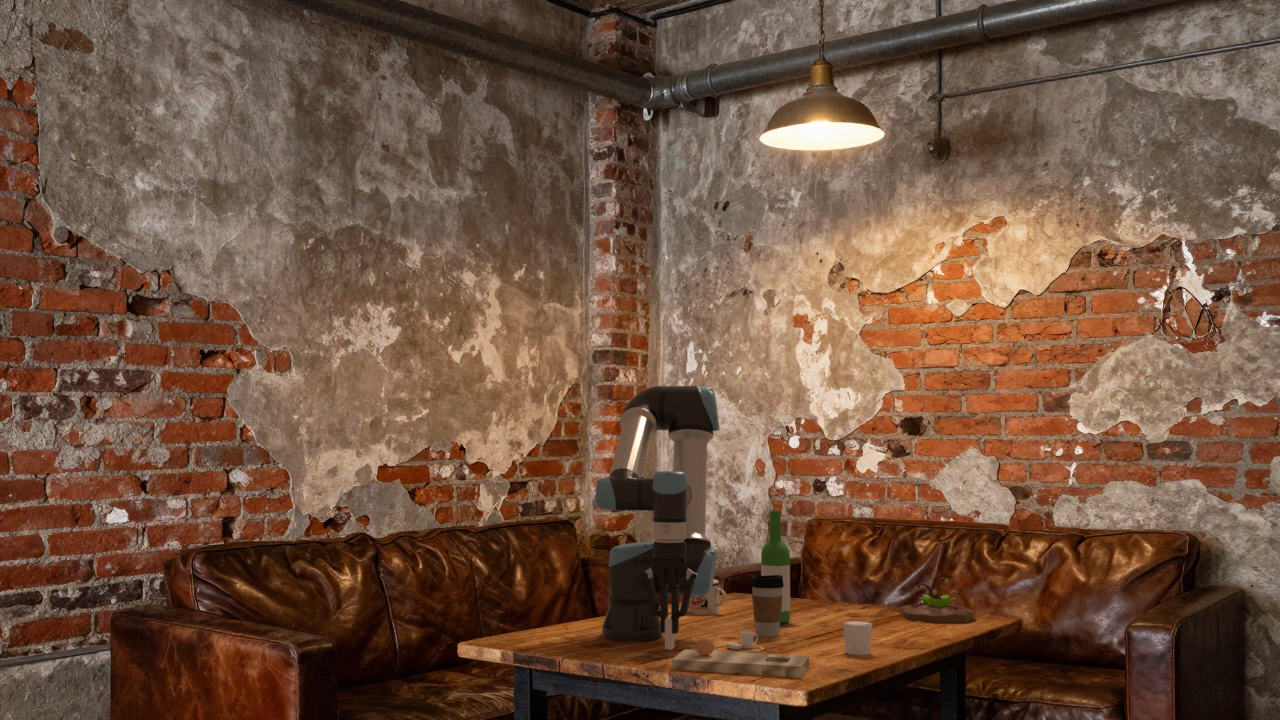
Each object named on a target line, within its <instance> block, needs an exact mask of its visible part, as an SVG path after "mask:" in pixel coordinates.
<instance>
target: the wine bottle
mask: <svg viewBox="0 0 1280 720" xmlns="http://www.w3.org/2000/svg"><path fill="white" fill-rule="evenodd" d="M781 513H782V512H781V510H775V509H774V510H770V511H769V540H768V541H767V542H766V543H765V544H764V546H763V547H762V549H761V558H760V560H761V566H760V576H769V575H782V576H783V583H784V585H783V586H784V587H782V606H781V617H780V624H786V623H789V622H790V619H791V565H790V564H791V563H790V562H791V561H790V558H791V557H790V556H791V555H790V550H789V547H788V545H786V544H787V543H784V541H783V540H782V527H781V526H782V521H781V520H782V515H781Z"/></svg>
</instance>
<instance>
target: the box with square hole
mask: <svg viewBox="0 0 1280 720" xmlns="http://www.w3.org/2000/svg"><path fill="white" fill-rule="evenodd" d="M809 667H810V656H809V655H800V654H799V655H798V654H797V655H795V654H781V653H780V654H778V653H776V654H775V653H763V652H762V653H761V652H759V653H758V652H745V651H744V652H740V651H725V650H724V651H723V650H722V651H721V650H720V651H719V650H713V652H712V653H711V654H710V655H708V656H703V655H700V654H699V653H698V652H697V650H696V649H687V648H685V649H683V650H682V651H681V652H679V653H678V654H677V655H676V656H675V657H673V658H672V659H671V670H674V669H681V670H680V671H689V670H693V671H694V672H704V671H705V672H706V673H718V672H721V674H722V673H723V674H733V673H741V674H740V675H743V674H742V673H746V674H745V675H748V673H749V674H761V675H760V676H763V675H770V676H769V677H778V676H781V677H782V678H793V677H794V678H795V679H803V677H804V676H803V675H805V674H806V672H807V670H808V669H809ZM693 671H692V672H693ZM705 672H704V673H705ZM781 677H780V678H781Z"/></svg>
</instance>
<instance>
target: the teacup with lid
mask: <svg viewBox="0 0 1280 720" xmlns="http://www.w3.org/2000/svg"><path fill="white" fill-rule="evenodd" d="M719 585H720V581H719V580H718V579H715V578H714V580H713V585H712V588H711V590H710V592H709V593H708V594H706V595H695V596H691V598H690V603H689V607H688V611H687V613H689V614H691V615H700V616H701V615H702V616H703V615H704V616H706V615H707V616H708V615H709V616H711V615H716V614H719V607H722V606H723V605H725V603H726V600H727V593H726V591H725V590H724V589H722V588H719ZM719 593H721V594H722V600H721V602H720V603H719V600H720V599H719V597H720V596H719Z"/></svg>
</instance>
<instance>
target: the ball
mask: <svg viewBox="0 0 1280 720" xmlns="http://www.w3.org/2000/svg"><path fill="white" fill-rule="evenodd" d="M695 650H697V652H698V653H699V654H700V655H703V656H708V655H710V654H711V653H712V652H713V651H715V643H714V642H713V640H712V639H711V638H710V637H707V636H703V637H700V638H699V639H697V641H696V644H695Z"/></svg>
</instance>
